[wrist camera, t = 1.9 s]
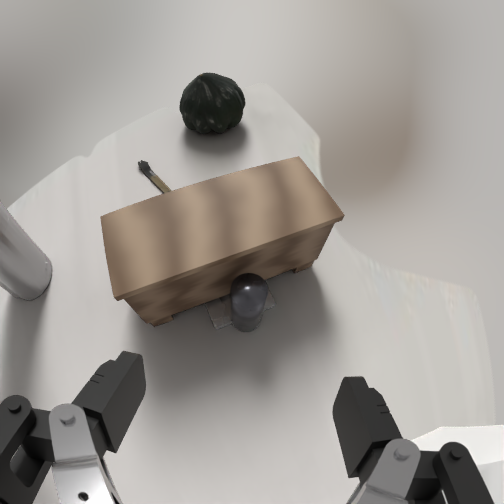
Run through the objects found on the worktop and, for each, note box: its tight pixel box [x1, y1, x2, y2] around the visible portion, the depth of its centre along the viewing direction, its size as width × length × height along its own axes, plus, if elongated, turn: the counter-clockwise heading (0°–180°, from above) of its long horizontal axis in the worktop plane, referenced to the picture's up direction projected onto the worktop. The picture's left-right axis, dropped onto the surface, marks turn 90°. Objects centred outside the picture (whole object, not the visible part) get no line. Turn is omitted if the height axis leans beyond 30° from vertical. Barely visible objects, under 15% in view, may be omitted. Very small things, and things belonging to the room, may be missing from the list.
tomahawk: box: [138, 160, 171, 193], centre depth 51 cm, size 21×7×1 cm, turn 41°
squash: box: [180, 73, 245, 134], centre depth 56 cm, size 14×15×15 cm
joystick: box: [205, 273, 276, 332], centre depth 36 cm, size 9×12×10 cm
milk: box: [411, 425, 504, 504], centre depth 15 cm, size 12×12×26 cm
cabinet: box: [101, 157, 344, 327], centre depth 37 cm, size 27×11×13 cm, turn 114°
